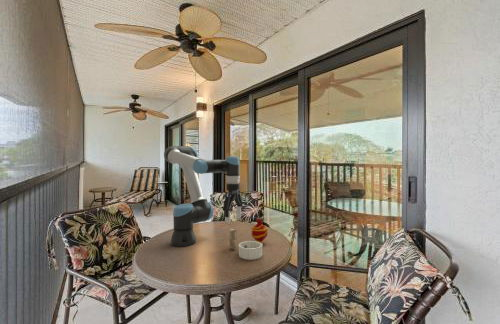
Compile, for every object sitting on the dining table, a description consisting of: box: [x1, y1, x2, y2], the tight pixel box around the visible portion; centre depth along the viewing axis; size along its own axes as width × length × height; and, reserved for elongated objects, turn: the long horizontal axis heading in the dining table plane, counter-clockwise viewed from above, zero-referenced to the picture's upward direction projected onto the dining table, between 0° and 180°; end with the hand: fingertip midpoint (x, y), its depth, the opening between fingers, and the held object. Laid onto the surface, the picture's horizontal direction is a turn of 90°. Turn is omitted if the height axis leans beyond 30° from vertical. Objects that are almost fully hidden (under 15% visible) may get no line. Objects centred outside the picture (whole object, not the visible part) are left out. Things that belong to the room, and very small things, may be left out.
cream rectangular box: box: [229, 228, 238, 251], centre depth 147 cm, size 4×2×11 cm, turn 66°
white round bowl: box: [238, 240, 263, 261], centre depth 137 cm, size 13×13×6 cm
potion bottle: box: [251, 217, 269, 245], centre depth 157 cm, size 10×10×15 cm
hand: (233, 220), depth 147 cm, fingers open, 13 cm apart
